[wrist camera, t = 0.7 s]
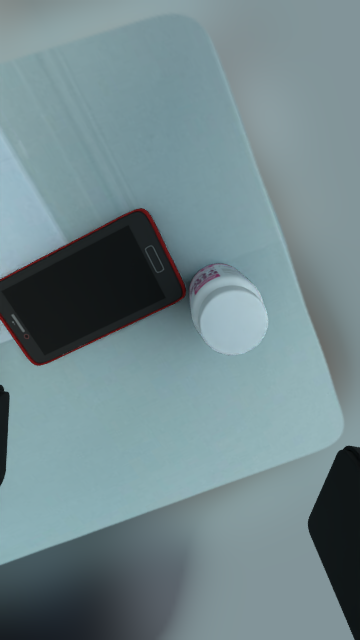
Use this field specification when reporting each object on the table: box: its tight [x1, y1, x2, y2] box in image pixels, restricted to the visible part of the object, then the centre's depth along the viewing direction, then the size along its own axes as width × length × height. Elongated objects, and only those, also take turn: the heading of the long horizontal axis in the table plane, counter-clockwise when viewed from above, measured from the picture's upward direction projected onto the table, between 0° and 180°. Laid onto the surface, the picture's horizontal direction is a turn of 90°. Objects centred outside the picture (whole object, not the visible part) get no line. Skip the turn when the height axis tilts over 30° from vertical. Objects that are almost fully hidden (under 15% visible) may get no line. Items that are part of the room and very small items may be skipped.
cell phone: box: [0, 208, 186, 366], centre depth 25 cm, size 8×15×1 cm, turn 116°
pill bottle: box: [189, 263, 268, 355], centre depth 22 cm, size 5×5×8 cm
